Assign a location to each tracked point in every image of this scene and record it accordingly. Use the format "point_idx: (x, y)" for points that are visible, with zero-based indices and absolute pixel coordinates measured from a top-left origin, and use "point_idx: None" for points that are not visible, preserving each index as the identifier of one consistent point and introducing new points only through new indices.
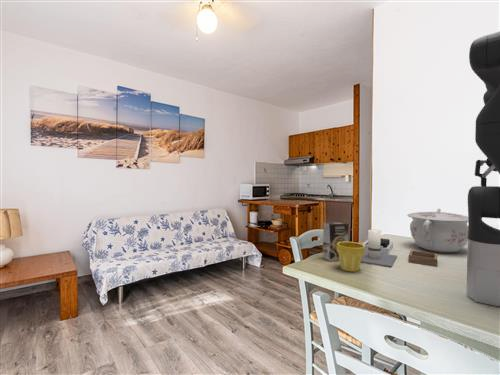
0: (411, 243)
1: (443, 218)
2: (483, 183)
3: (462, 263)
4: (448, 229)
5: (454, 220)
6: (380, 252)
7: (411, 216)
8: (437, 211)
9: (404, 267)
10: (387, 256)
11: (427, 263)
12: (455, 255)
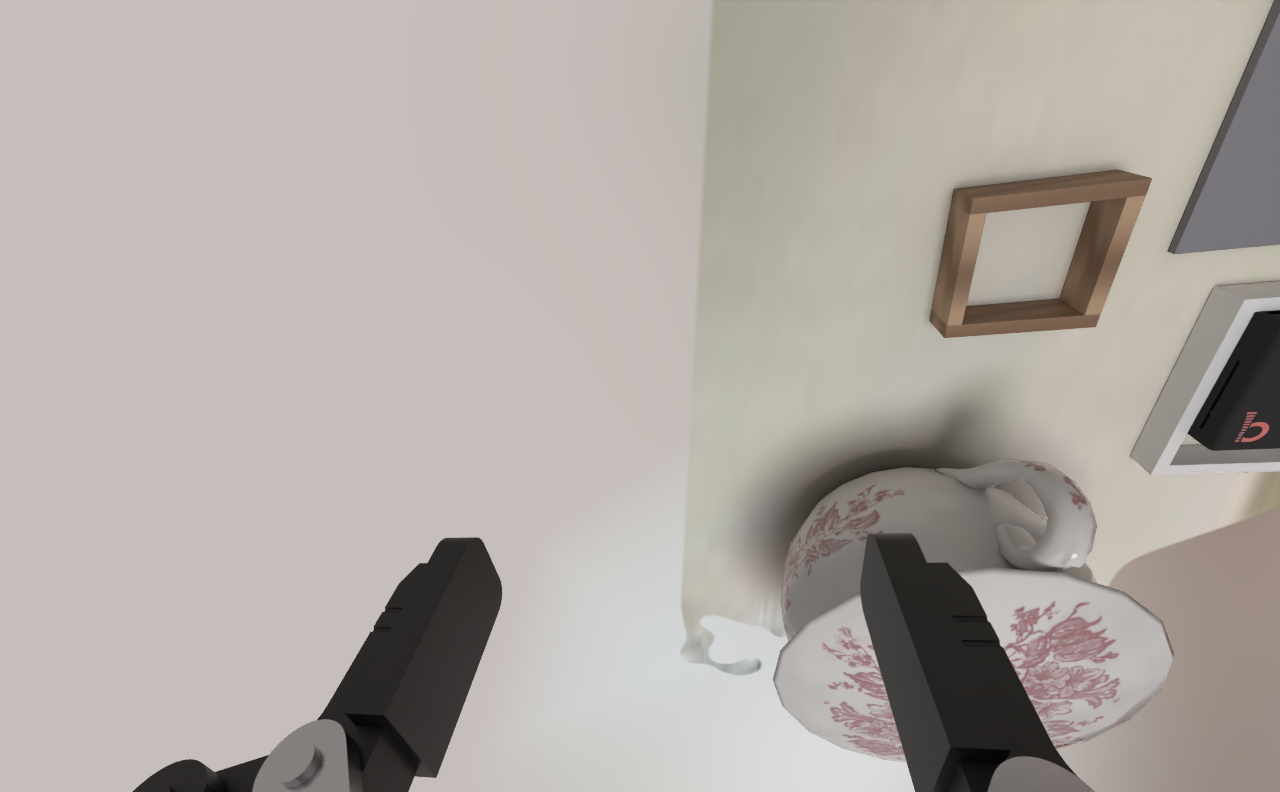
0: None
1: None
2: (947, 619)
3: (815, 345)
4: None
5: None
6: (1270, 283)
7: (1164, 633)
8: None
9: (1187, 6)
10: (1260, 187)
11: (1011, 185)
12: (828, 463)
